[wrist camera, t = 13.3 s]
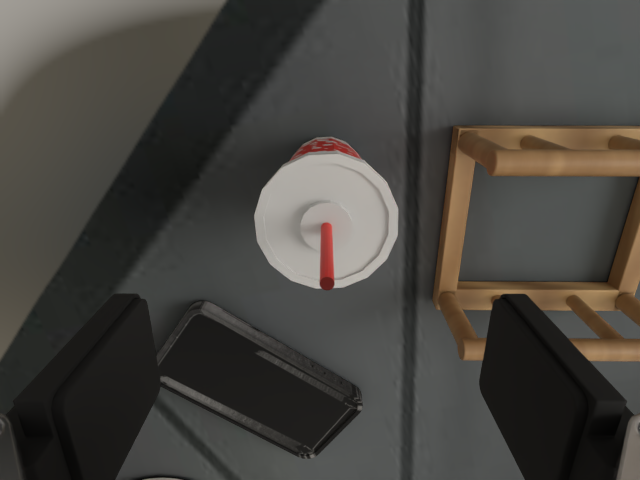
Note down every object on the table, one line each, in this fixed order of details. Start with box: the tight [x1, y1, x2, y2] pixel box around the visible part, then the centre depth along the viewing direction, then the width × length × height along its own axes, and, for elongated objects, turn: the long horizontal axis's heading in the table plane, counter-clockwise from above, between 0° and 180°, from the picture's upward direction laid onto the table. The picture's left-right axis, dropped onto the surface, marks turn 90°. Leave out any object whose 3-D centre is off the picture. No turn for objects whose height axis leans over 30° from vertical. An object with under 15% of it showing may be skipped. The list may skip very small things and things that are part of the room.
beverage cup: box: [254, 137, 398, 290], centre depth 19 cm, size 6×6×14 cm
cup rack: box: [432, 126, 640, 361], centre depth 24 cm, size 13×12×7 cm
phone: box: [156, 301, 363, 459], centre depth 32 cm, size 8×1×15 cm
